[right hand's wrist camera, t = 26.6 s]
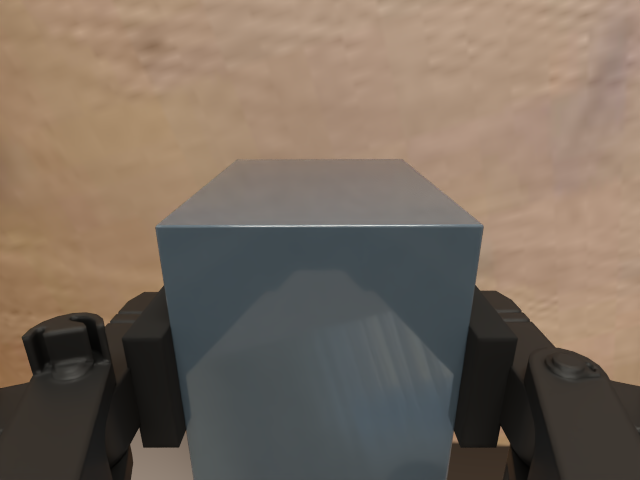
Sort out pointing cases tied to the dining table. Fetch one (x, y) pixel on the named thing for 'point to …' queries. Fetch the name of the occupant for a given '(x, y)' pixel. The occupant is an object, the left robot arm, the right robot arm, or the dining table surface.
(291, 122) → the dining table surface
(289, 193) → the block
